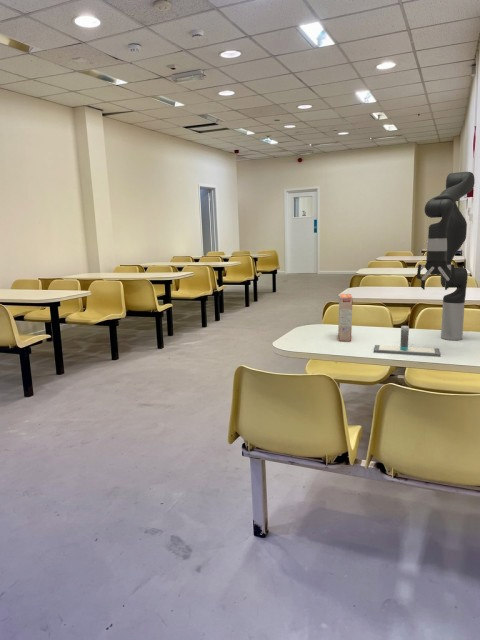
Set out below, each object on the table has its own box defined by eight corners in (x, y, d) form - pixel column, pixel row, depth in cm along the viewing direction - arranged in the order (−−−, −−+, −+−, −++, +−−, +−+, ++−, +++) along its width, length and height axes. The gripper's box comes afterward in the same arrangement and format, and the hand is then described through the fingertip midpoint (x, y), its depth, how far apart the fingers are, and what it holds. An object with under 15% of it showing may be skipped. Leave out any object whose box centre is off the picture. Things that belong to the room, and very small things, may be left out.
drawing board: (375, 347, 206) (375, 344, 206) (438, 350, 197) (439, 348, 197) (373, 352, 197) (373, 349, 197) (440, 356, 188) (440, 353, 188)
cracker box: (352, 341, 218) (353, 297, 214) (338, 341, 219) (339, 297, 215) (350, 335, 231) (351, 293, 228) (338, 335, 232) (338, 293, 229)
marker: (400, 348, 197) (401, 325, 195) (407, 349, 196) (408, 325, 194) (400, 350, 194) (401, 326, 193) (407, 350, 193) (408, 327, 192)
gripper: (455, 249, 191) (452, 288, 194) (417, 249, 196) (416, 288, 199) (456, 250, 184) (454, 290, 187) (418, 250, 189) (416, 290, 192)
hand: (434, 289), depth 193 cm, fingers open, 8 cm apart
